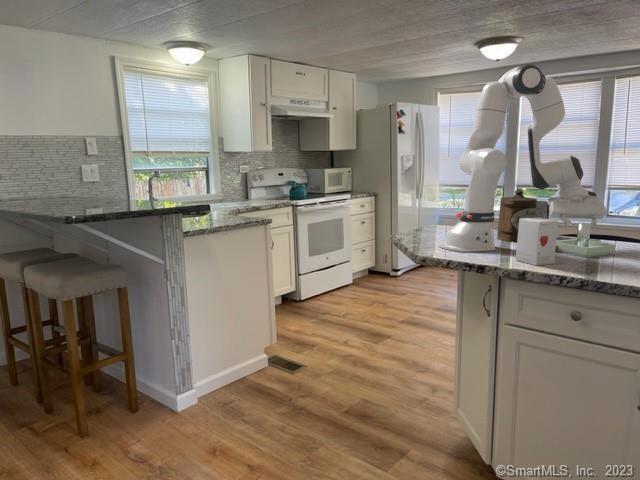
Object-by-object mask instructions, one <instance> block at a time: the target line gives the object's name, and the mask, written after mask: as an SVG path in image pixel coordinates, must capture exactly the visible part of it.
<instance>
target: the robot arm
mask: <svg viewBox="0 0 640 480" xmlns="http://www.w3.org/2000/svg"><path fill="white" fill-rule="evenodd" d="M522 97H525V98H526V99H527V101H528V102H529V104H530V108H531V112H532V122H531V124H529V126H528V129H527V140H528V141H527V144H528V153H529V155H528V156H529V163H530V167H529V168H530V170H529V179H530V183H531V185H532V186H533V187H534V188H537V189H539V190H542V191H543V190H545V189H548V188H550V187H552V186H553V187H554V186H556V188H557V189H558V191H559V192H558V193H559V194H558V195H559V197H558V196H557V197H555V196H554V197H553V196H552V197H549V198H547V200H546V201H547V203H548V205H549V217H551V218H553V219H560V221H562V222H563V224H564V225H565V227H571V226H572V222H571V220H570V219H577V220H578V219H582V220H587V219H588V220H591V222H590V224H591V227H590V228H596V227H597V226H598V222H597V221H598V220H603V219H604V218H605V216H606V215H607V213H608V212H607V208H606V206H605V204H604V202H603V200H602V199H600V194H599V193H598V192H594V191H592V190H588V189H585V188H584V187H583V185H582V179H583V177H584V170H583V168H582V166H581V161H580V159H579V158H578V157H575V156H574V155H567V156H563V157H561V158H557V159H555V160H551V161H547V162H545V163H544V162H543V163H542V160H541V153H540V151H541V149H540V143H541V141H542V139H543V138H544V137H545V136H546V135H547V134H549V133H550V132H551V131H553V130H555V128H558V126H559V125H560V124H561V123H562V122H563V120H564V118H565V116H566V112H565V111H566V109H565V104H564V99H563V96H562V94H561V92H560V89H559V86H558V85H557V82H556V81H555V80H554V78H553V77H550V76H546V75H545V74H544V73H543V71H542V70H541V68H540V67H538V66H537V65H534V64H529V63H528V64H523V65H520V66H516V67H512V68H511V69H509V70H506V71H505V72H504V73H502V74H501V75H500V76H499V77H498V79H497V80H496V81H492V82H488V83H487V84H485V85H484V86H483V88H482V91H481V93H480V96H479V99H478V102H477V107H476V111H475V116H474V122H473V128H472V131H471V134H470V137H469V139H468V142H467V145H466V146H465V147H466V148H465V150H464V151H463V153H462V154H461V156H460V157H459V163H458V164H459V167H460V170H461V171H462V172H464V173H465V174H466V175H469V176H471V179H470V183H469V185H468V187H467V189H466V190H465V195H464V208H463V209H464V210H463V212H462V213H461V212H458V211H457V212H456V218H459V219H460V220H459V221H458V222H457V223H456V224H455V225H454V226H452V227H451V228H450V229H449V230H448V231H447V232H446V234H445V239H444V240H445V241H444V242H442V243H439V244H438V247H439V248H442V249H445V250H448V251H452V252H461V253H466V252H467V253H468V252H469V253H470V252H485V251H488V252H489V251H496V243H495V234H494V233H495V232H494V222H495V217H496V216H495V211H494V209H495V207H494V206H495V196H496V190H497V187H498V183H499V181H500V179H501V178H500V177H501V175H502V174H503V172H504V171H506V168H507V166H508V159H507V156H506V155H505V153H504V152H502V151H500V150H499V149H497V148H495V147H496V145H497V144H498V141H499V139H500V138H501V137H502V135H503V132H504V127H505V123H506V117H507V111H508V107H509V106H508V105H509V102H510V101H511V99H514V98H522Z"/></svg>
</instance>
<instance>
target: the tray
mask: <svg viewBox="0 0 640 480" xmlns="http://www.w3.org/2000/svg"><path fill="white" fill-rule="evenodd" d="M576 240H577V238H571V239H563V240H562V239H560V240H556V245H557V246H558V247H557V252H556V253H561V254H566V255H571V256H575V257H581V258H595V257H601V256H610V255H615V253H616V244H612V243H606V242H600V241H596V240H591V239H589V247H581V246H576Z"/></svg>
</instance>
